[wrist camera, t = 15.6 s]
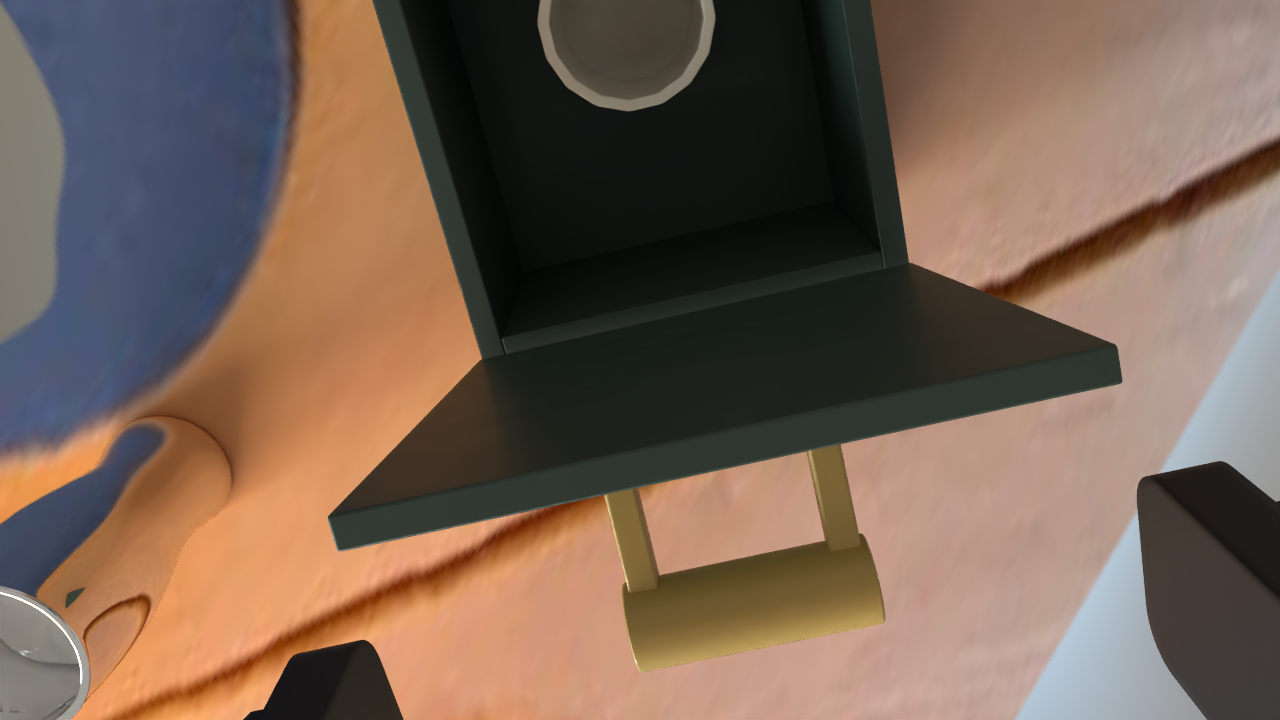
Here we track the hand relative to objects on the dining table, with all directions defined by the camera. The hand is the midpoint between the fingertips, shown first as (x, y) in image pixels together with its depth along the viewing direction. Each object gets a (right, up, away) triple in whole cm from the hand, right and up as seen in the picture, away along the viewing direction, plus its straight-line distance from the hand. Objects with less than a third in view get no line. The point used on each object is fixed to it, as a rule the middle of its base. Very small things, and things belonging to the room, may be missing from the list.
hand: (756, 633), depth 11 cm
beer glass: (-24, -3, +40) cm, 47 cm away
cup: (-2, +17, +32) cm, 36 cm away
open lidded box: (-1, +15, +33) cm, 37 cm away
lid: (0, +3, +18) cm, 18 cm away
